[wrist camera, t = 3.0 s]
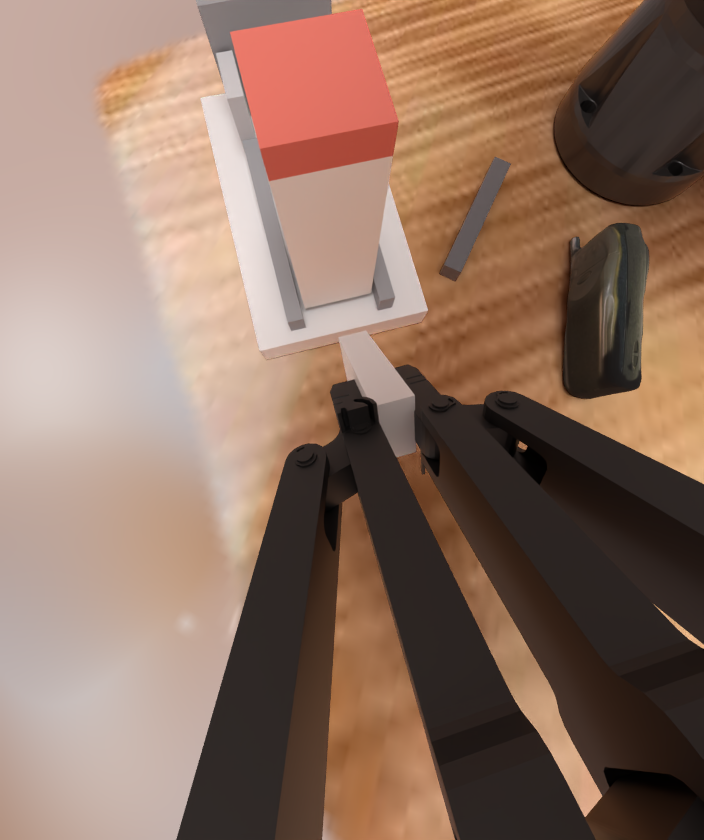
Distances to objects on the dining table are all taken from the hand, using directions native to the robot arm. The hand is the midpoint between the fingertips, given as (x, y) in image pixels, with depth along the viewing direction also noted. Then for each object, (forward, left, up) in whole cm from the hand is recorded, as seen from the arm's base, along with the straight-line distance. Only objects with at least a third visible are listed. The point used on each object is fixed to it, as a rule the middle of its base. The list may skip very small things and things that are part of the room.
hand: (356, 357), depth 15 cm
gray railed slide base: (-10, -13, -8) cm, 19 cm away
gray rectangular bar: (-20, -2, -9) cm, 22 cm away
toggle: (-6, -8, -6) cm, 11 cm away
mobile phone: (-18, +11, -9) cm, 23 cm away
